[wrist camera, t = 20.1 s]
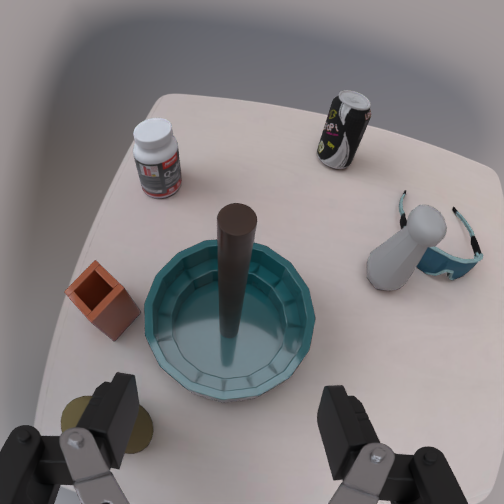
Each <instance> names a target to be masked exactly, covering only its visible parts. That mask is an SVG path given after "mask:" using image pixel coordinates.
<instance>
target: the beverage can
mask: <svg viewBox="0 0 504 504" xmlns="http://www.w3.org/2000/svg"><path fill="white" fill-rule="evenodd" d="M370 105H371V103H370V101H369V100H368V99H367V98H366V97H365V96H364V95H362V94H360V93H358V92H355V91H351V90H344V91H341V92H340V93H339V96H337V97H335V98H334V99H333V101H332V104H331V107H330V110H329V114H328V117H327V120H326V123H325V126H324V130H323V133H322V136H321V139H320V142H319V146H318V149H317V155H318V157H319V159H320V160H321V161H322V162H323V163H324V164H326V165H327V166H329V167H332V168H336V169H343V168H346V167H348V166H349V165H350V164H351V162H352V160H353V158H354V155H355V153H356V151H357V148H358V146H359V144H360V141H361V139H362V137H363V134H364V132H365V130H366V127H367V125H368V122H369V120H370V117H371V110H370Z"/></svg>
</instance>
